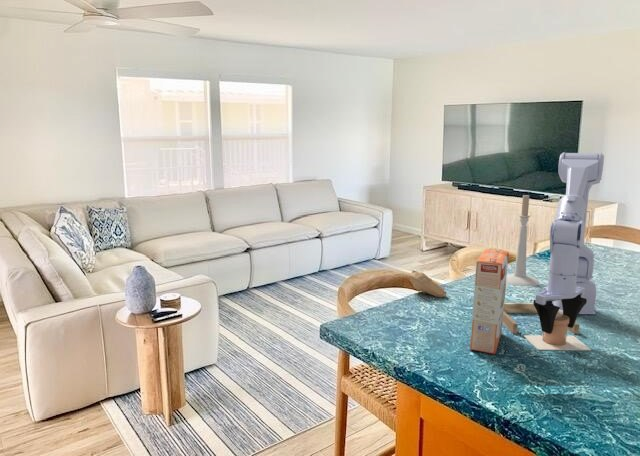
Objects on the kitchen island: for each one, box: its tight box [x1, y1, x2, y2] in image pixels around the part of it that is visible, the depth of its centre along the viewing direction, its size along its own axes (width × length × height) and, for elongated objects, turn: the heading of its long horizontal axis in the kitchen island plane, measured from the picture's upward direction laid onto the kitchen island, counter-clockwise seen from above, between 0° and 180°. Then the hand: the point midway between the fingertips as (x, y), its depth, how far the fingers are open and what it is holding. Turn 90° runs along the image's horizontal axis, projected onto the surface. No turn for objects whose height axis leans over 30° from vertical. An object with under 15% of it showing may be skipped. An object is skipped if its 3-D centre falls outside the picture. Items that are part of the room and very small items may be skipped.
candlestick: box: [506, 194, 540, 287], centre depth 159 cm, size 13×13×30 cm
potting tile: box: [523, 334, 592, 351], centre depth 113 cm, size 12×8×1 cm, turn 89°
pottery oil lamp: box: [408, 269, 447, 298], centre depth 148 cm, size 9×12×7 cm
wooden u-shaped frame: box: [502, 302, 580, 335], centre depth 126 cm, size 16×16×2 cm
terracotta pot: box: [542, 313, 570, 346], centre depth 113 cm, size 6×6×6 cm
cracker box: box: [469, 248, 509, 355], centre depth 112 cm, size 14×6×21 cm, turn 154°
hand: (557, 329), depth 112 cm, fingers open, 7 cm apart
